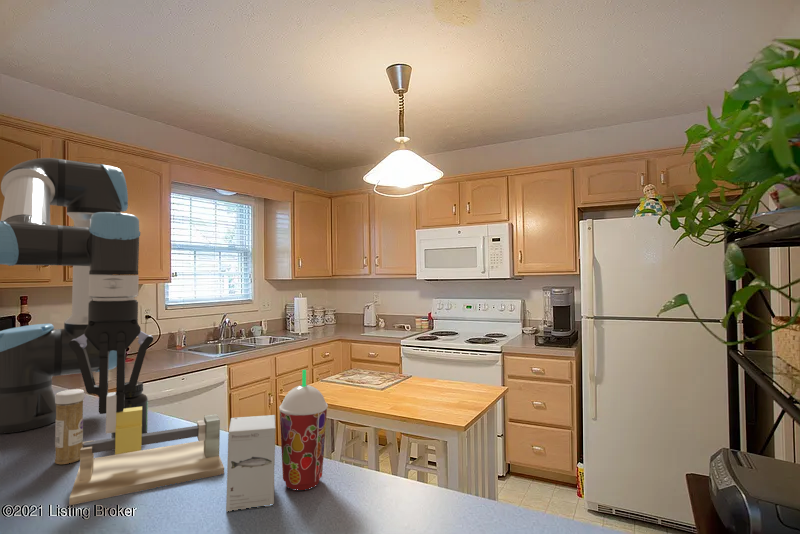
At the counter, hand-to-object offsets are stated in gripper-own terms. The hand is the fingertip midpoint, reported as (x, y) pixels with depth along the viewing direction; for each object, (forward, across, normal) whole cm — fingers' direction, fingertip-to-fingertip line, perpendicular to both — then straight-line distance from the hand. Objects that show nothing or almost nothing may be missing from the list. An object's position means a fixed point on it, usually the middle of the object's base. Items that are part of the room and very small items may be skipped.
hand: (111, 430), depth 80 cm
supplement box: (+9, +21, -19) cm, 30 cm away
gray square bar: (+3, +6, 0) cm, 7 cm away
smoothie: (+9, +30, -18) cm, 36 cm away
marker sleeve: (+4, +3, 0) cm, 5 cm away
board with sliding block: (+9, +6, 0) cm, 11 cm away
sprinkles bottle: (+9, -8, +13) cm, 17 cm away
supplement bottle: (+9, +2, +21) cm, 23 cm away
